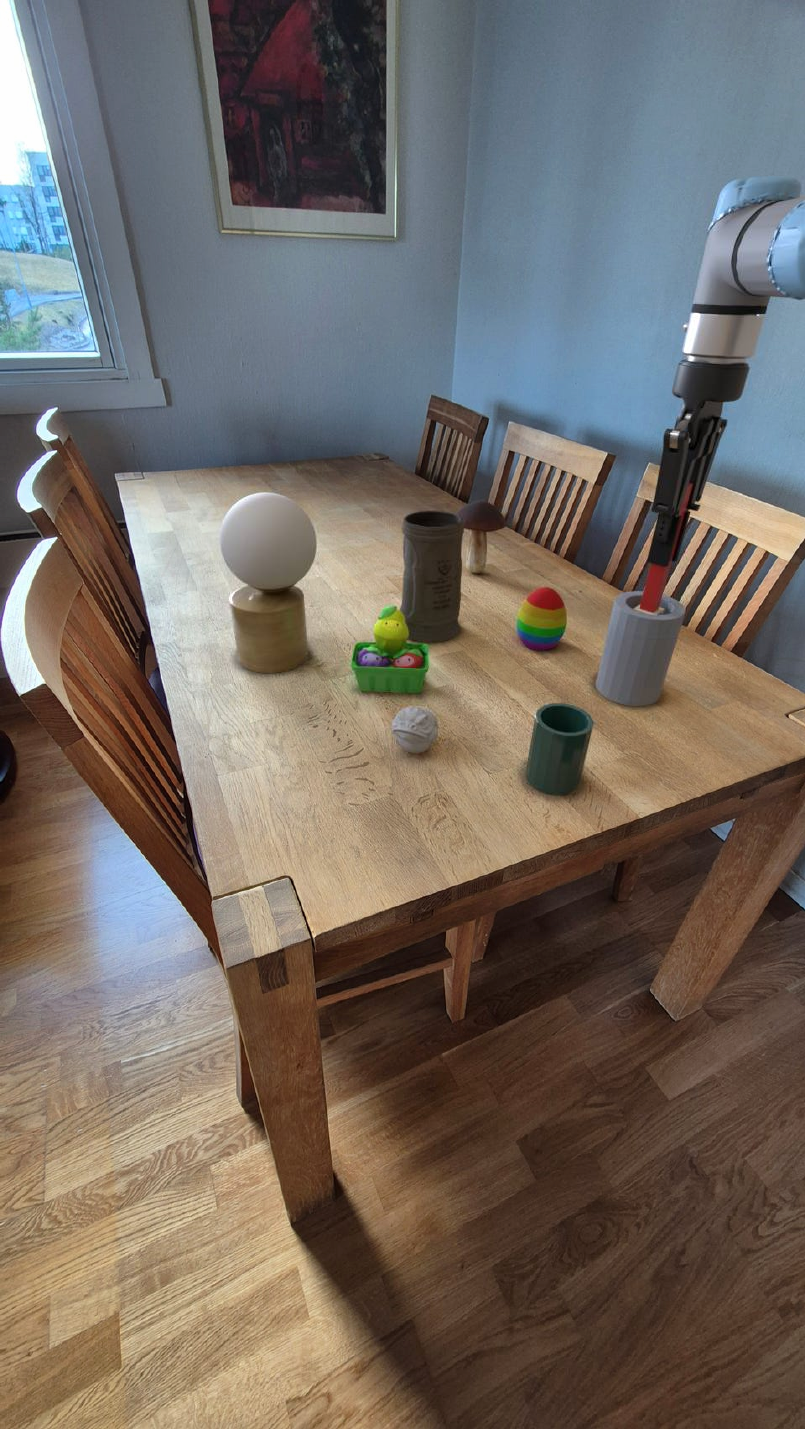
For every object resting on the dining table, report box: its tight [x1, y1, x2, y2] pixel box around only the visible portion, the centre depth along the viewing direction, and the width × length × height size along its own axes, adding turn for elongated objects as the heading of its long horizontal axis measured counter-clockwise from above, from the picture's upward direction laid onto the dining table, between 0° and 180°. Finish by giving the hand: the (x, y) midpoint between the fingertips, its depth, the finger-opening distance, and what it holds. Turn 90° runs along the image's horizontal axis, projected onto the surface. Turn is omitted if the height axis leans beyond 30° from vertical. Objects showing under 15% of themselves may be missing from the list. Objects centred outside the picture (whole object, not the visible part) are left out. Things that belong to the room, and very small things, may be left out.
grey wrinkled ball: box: [390, 705, 439, 754], centre depth 80 cm, size 6×7×7 cm
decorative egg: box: [516, 586, 568, 651], centre depth 104 cm, size 8×8×10 cm
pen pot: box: [525, 702, 595, 796], centre depth 75 cm, size 7×7×9 cm
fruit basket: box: [350, 605, 430, 694], centre depth 93 cm, size 11×9×11 cm
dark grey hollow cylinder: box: [399, 510, 465, 643], centre depth 107 cm, size 15×11×20 cm
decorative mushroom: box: [455, 499, 507, 574], centre depth 128 cm, size 11×11×15 cm
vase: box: [595, 590, 687, 707], centre depth 91 cm, size 9×9×14 cm
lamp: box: [219, 492, 318, 674], centre depth 96 cm, size 15×14×25 cm
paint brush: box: [633, 483, 693, 615], centre depth 84 cm, size 3×3×22 cm
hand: (662, 560), depth 84 cm, fingers closed on paint brush, 2 cm apart
